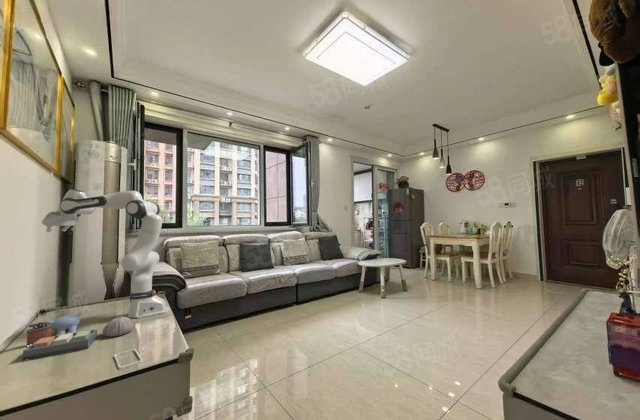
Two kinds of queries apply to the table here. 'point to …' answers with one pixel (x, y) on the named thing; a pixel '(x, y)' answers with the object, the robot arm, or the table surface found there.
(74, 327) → the hippopotamus toy
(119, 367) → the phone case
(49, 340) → the terracotta key
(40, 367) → the table surface
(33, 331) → the lighter
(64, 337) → the cream key
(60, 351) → the grey tray
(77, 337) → the sage key
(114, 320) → the sea urchin shell
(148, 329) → the table surface
